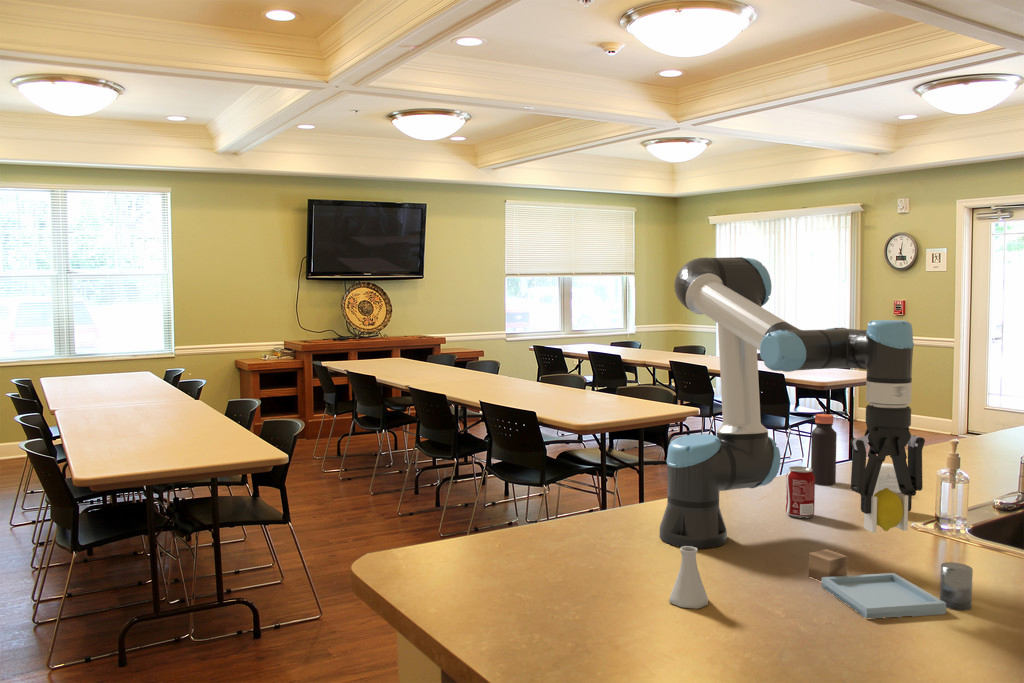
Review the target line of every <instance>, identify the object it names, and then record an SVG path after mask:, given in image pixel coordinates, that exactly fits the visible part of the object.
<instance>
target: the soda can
mask: <svg viewBox="0 0 1024 683" xmlns="http://www.w3.org/2000/svg"><path fill="white" fill-rule="evenodd" d="M785 477H786V479H785V513H786V514H787V515H789V516H790V515H791V516H790V517H792V516H794V517H793V518H795V517H801V518H800V519H807V518H806V517H809V518H811V517H813V516H814V515H815V500H816V498H815V493H816V492H815V491H816V489H815V488H816V486H815V485H816V484H815V476H814V474H813V473H812V469H811V467H809V466H801V465H799V466H797V465H795V466H789V467H788V472H787V473H786V475H785Z"/></svg>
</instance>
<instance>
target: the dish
mask: <svg viewBox="0 0 1024 683" xmlns="http://www.w3.org/2000/svg"><path fill="white" fill-rule="evenodd" d="M822 587H823V588H824V589H826V590H827V591H828V592H827V591H826V590H825V591H826V592H827V593H829V592H830V593H831V594H833V595H834V596H835V598H836V597H837V598H838V599H840V600H841V601H843V602H844V603H846V604H847V605H849V606H850V607H851V608H853V609H854V610H856V611H857V612H858V613H859V614H861V615H862V616H863V617H862V616H861V615H860V616H861V617H862V618H864V617H865V618H866V619H867V618H883V617H898V618H902V617H901V616H912V617H921V616H922V617H924V616H925V617H927V616H938V615H939V616H940V615H946V614H947V607H946V603H945V602H944V601H942V600H940V598H938V597H937V596H935V595H933V594H931V593H930V592H928V591H926V590H924V589H923V588H921V587H919V586H918V585H916V584H914V583H912V582H911V581H909V580H907V579H906V578H904V577H902V576H900V575H899V574H897V573H895V572H888V573H887V572H886V573H885V572H883V573H870V574H856V575H855V574H853V575H852V574H851V575H847V576H835V577H822V583H821V588H822ZM823 588H822V589H823ZM824 589H823V590H824ZM830 593H829V594H830ZM831 594H830V595H831ZM833 595H832V596H833ZM834 596H833V597H834ZM837 598H836V599H837ZM838 599H837V600H838ZM840 600H839V601H840ZM841 601H840V602H841ZM843 602H842V603H843ZM844 603H843V604H844ZM847 605H846V606H847ZM850 607H849V608H850ZM851 608H850V609H851ZM854 610H853V611H854ZM857 612H856V613H857ZM858 613H857V614H858ZM859 614H858V615H859ZM865 618H864V619H865ZM866 619H865V620H866Z"/></svg>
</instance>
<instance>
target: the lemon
mask: <svg viewBox="0 0 1024 683" xmlns="http://www.w3.org/2000/svg"><path fill="white" fill-rule="evenodd" d="M874 496H875V497H877V526H878V527H880V528H882V530H883V531H885V532H888V531H889V530H890V529H893V528H896V527H895V526H897V525H898V524H899V523H900V521H901V519H902V516H903V506H902V502H901V499H900V498H899V496H898V495H897V494H896V493H894V492H893V491H890V490H889V489H888V488H885V489H884V490H880V491H878V492H877V493H875V494H874Z"/></svg>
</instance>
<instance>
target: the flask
mask: <svg viewBox="0 0 1024 683" xmlns="http://www.w3.org/2000/svg"><path fill="white" fill-rule="evenodd" d="M698 549H699V548H695V547H691V546H684V547H680V548H679V550H680V553H681V562H680V567H679V568H680V569H679V570H678V573H677V577H676V578H675V583H674V584H673V587H672V590H671V593H670V596H669V601H668V603H669V604H673V605H675V606H678V607H680V608H684V609H685V608H687V609H701V608H703V607H706V606H708V605H709V598H708V594H707V591H706V589H705V586H704V583H703V581H702V579H701V575H700V572H699V569H698V563H697V554H698V551H699V550H698Z"/></svg>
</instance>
